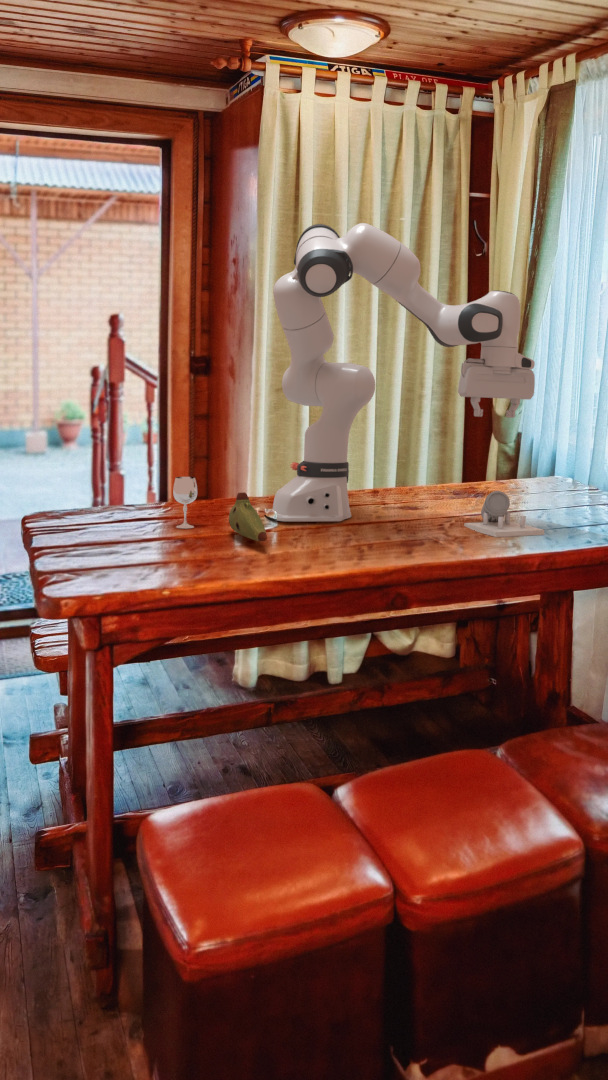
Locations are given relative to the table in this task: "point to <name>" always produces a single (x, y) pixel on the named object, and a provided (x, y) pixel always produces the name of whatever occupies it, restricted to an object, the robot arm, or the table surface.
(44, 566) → the table surface
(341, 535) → the table surface
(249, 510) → the green banana
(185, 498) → the wineglass
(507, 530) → the grey peg board
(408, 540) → the table surface
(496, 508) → the energy drink can
